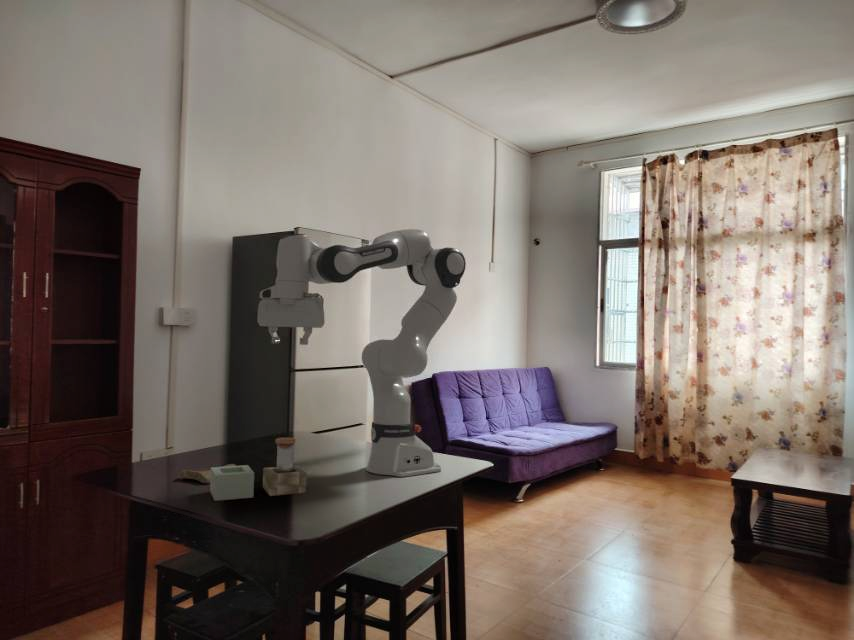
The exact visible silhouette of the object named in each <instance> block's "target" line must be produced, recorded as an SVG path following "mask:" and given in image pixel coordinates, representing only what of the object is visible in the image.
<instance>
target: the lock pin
mask: <svg viewBox="0 0 854 640" xmlns="http://www.w3.org/2000/svg"><path fill="white" fill-rule="evenodd" d="M275 444H276V445H277V447H276V448H277V449H276V453H277V454H276V467H277V473H288V472H293V466H294V445H296V438H295V437H278V438H275Z"/></svg>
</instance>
